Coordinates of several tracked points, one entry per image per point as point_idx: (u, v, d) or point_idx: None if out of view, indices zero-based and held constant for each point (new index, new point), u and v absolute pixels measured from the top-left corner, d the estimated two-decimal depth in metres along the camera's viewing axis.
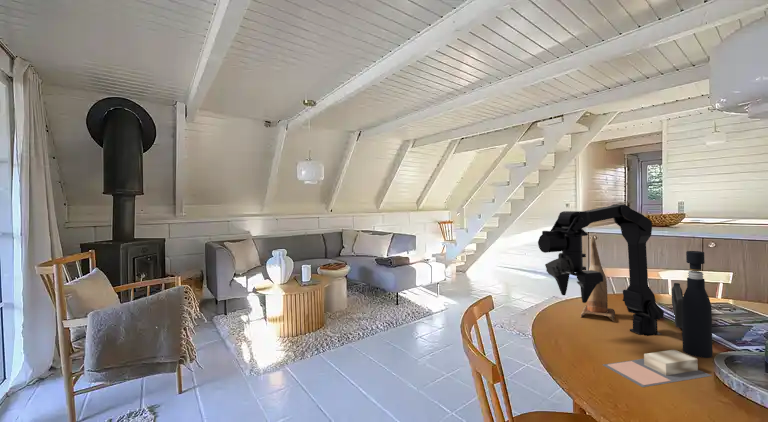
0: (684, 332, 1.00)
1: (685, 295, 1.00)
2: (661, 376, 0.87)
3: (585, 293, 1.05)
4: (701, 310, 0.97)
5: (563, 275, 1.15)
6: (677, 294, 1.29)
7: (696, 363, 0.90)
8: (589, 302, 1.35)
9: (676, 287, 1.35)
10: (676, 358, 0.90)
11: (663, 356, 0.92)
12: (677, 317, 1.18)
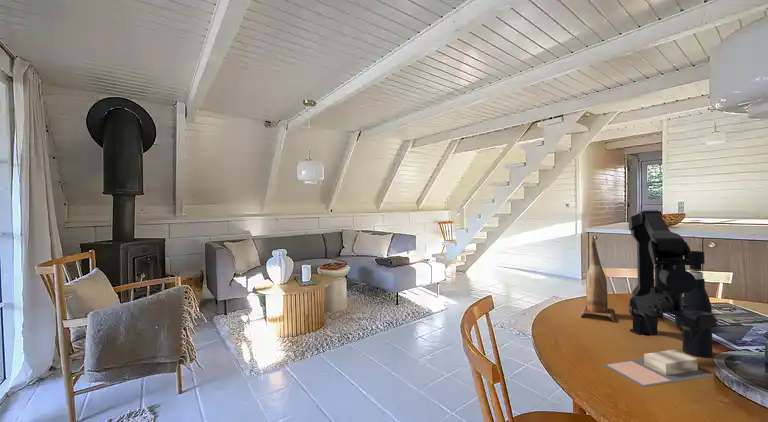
0: None
1: (685, 295, 1.00)
2: (661, 376, 0.87)
3: (690, 338, 0.86)
4: (701, 310, 0.97)
5: None
6: None
7: (696, 363, 0.90)
8: (589, 302, 1.35)
9: None
10: (676, 358, 0.90)
11: (663, 356, 0.92)
12: (677, 317, 1.18)
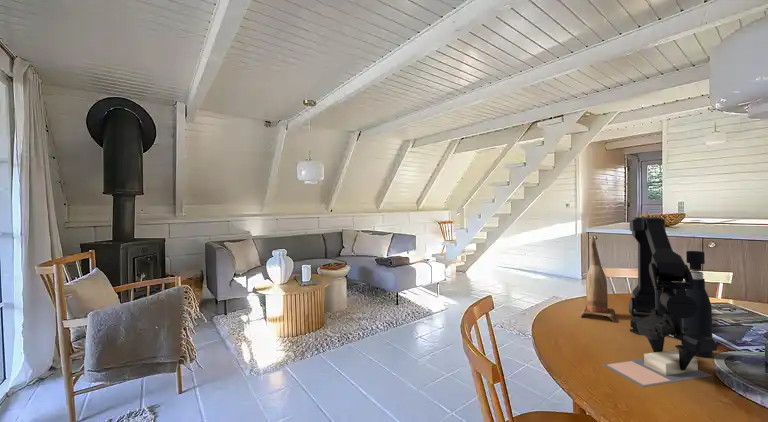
0: (684, 332, 1.00)
1: None
2: (661, 376, 0.87)
3: (685, 359, 0.88)
4: (701, 310, 0.97)
5: None
6: None
7: (696, 363, 0.90)
8: (589, 302, 1.35)
9: None
10: (676, 358, 0.90)
11: (663, 356, 0.92)
12: None
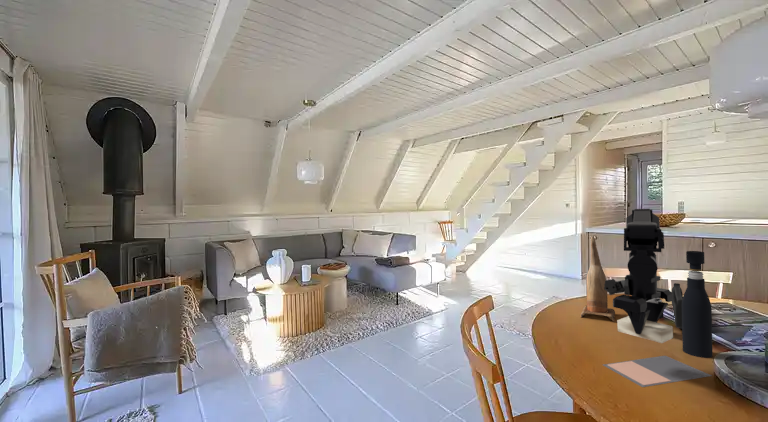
0: (684, 332, 1.00)
1: (685, 295, 1.00)
2: (661, 376, 0.87)
3: (633, 321, 0.88)
4: (701, 310, 0.97)
5: (652, 304, 0.91)
6: (677, 294, 1.29)
7: (660, 335, 0.84)
8: (589, 302, 1.35)
9: (676, 287, 1.35)
10: None
11: None
12: (677, 317, 1.18)
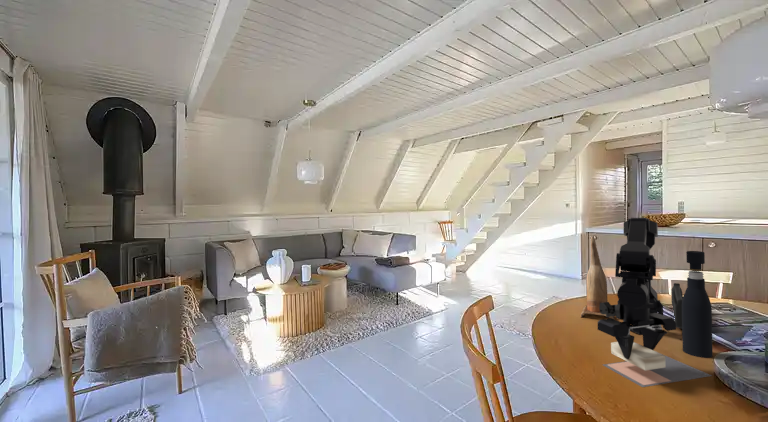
0: (684, 332, 1.00)
1: (685, 295, 1.00)
2: (661, 376, 0.87)
3: (621, 345, 0.90)
4: (701, 310, 0.97)
5: (650, 331, 0.90)
6: (677, 294, 1.29)
7: (643, 362, 0.85)
8: (589, 302, 1.35)
9: (676, 287, 1.35)
10: (632, 349, 0.90)
11: (632, 346, 0.91)
12: (677, 317, 1.18)
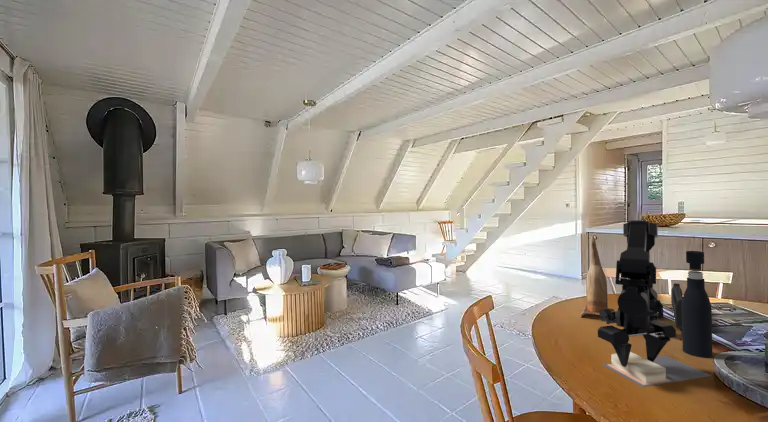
0: (684, 332, 1.00)
1: (685, 295, 1.00)
2: None
3: (618, 353, 0.89)
4: (701, 310, 0.97)
5: (653, 338, 0.90)
6: (677, 295, 1.29)
7: (644, 375, 0.85)
8: (589, 302, 1.35)
9: (676, 287, 1.35)
10: (632, 361, 0.90)
11: (633, 358, 0.92)
12: (677, 318, 1.18)
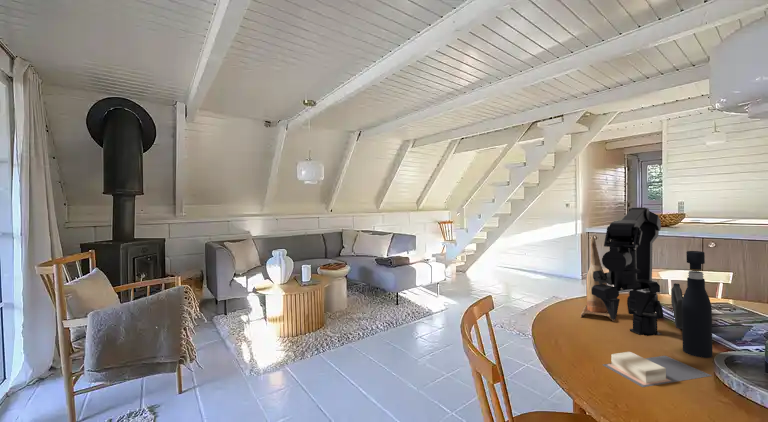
0: (684, 332, 1.00)
1: (685, 295, 1.00)
2: None
3: (608, 308, 1.01)
4: (701, 310, 0.97)
5: (641, 294, 1.02)
6: (677, 295, 1.29)
7: (644, 375, 0.85)
8: (589, 302, 1.35)
9: (676, 288, 1.35)
10: (632, 361, 0.90)
11: (633, 358, 0.92)
12: (677, 318, 1.17)
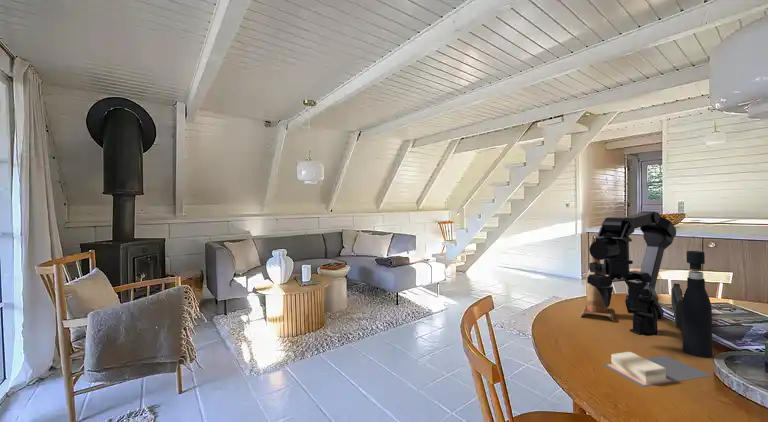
0: (684, 332, 1.00)
1: (685, 295, 1.00)
2: None
3: (602, 296, 1.09)
4: (701, 310, 0.97)
5: (634, 284, 1.10)
6: (677, 295, 1.28)
7: (644, 375, 0.85)
8: (589, 302, 1.35)
9: (676, 288, 1.34)
10: (632, 361, 0.90)
11: (633, 358, 0.92)
12: (677, 318, 1.17)
